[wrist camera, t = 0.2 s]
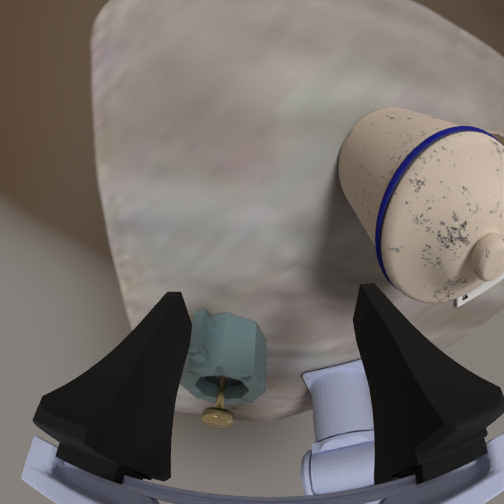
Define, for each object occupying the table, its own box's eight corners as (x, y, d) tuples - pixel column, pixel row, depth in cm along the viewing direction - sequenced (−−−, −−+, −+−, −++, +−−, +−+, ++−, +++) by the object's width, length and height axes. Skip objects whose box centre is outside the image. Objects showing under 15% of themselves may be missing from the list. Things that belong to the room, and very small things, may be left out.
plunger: (248, 378, 25) (245, 429, 20) (215, 382, 26) (208, 430, 21) (233, 359, 23) (227, 414, 18) (197, 364, 24) (187, 415, 19)
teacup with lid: (368, 242, 21) (424, 367, 11) (307, 145, 17) (363, 239, 7) (478, 171, 16) (575, 250, 6) (440, 68, 12) (572, 92, 3)
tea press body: (272, 351, 29) (272, 400, 24) (213, 361, 30) (205, 406, 25) (239, 291, 24) (232, 346, 19) (170, 307, 26) (152, 357, 21)
